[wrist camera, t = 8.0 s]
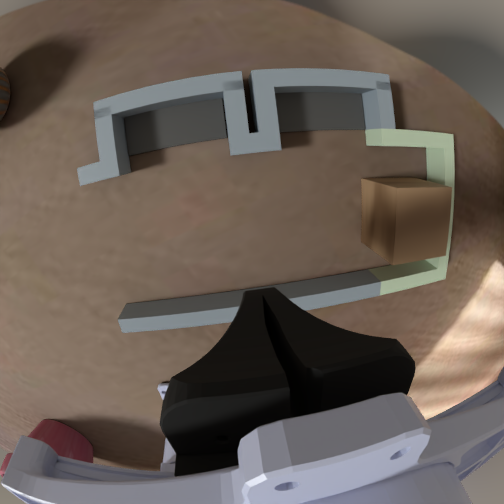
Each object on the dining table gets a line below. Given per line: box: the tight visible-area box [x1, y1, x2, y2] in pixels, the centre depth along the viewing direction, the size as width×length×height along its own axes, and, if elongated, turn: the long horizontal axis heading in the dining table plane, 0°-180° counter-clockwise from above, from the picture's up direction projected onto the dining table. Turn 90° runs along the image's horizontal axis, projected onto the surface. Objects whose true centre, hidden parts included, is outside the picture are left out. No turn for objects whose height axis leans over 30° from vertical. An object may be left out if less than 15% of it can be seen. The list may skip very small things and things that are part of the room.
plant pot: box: [0, 419, 93, 477], centre depth 22 cm, size 14×14×13 cm
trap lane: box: [77, 68, 455, 333], centre depth 18 cm, size 16×27×2 cm, turn 96°
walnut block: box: [361, 177, 452, 265], centre depth 19 cm, size 5×5×5 cm
